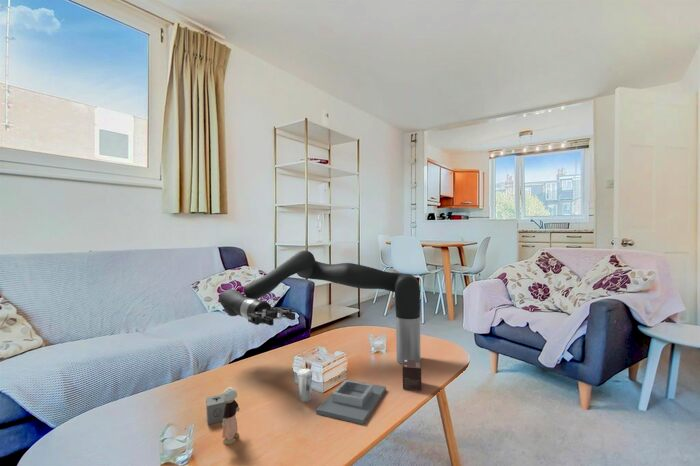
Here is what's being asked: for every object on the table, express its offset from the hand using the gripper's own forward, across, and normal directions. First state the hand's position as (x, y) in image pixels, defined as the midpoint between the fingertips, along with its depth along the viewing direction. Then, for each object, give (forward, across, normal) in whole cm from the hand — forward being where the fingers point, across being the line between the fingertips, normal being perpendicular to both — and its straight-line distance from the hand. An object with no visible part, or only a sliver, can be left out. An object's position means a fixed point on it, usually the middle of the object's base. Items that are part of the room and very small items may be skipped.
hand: (283, 319), depth 107 cm
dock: (+22, +9, +22) cm, 32 cm away
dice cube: (-1, -22, +23) cm, 32 cm away
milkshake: (+10, +1, +22) cm, 25 cm away
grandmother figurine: (+11, -24, +23) cm, 35 cm away
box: (+31, +28, +22) cm, 47 cm away
